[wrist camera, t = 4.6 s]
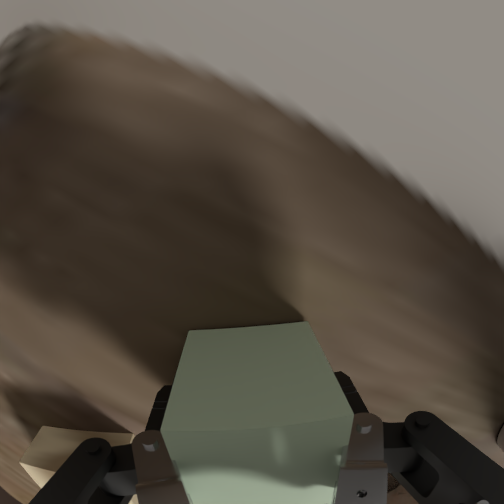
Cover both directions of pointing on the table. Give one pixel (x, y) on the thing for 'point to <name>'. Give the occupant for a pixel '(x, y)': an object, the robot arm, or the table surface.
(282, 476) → the green block
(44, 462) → the base block
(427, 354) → the table surface
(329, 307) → the table surface
